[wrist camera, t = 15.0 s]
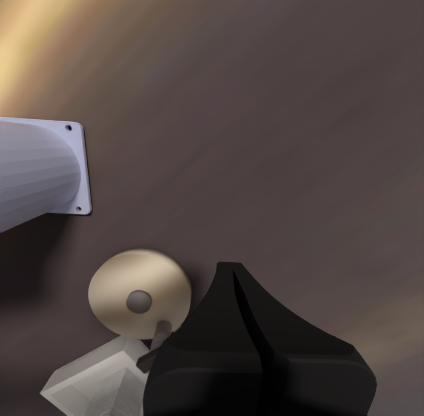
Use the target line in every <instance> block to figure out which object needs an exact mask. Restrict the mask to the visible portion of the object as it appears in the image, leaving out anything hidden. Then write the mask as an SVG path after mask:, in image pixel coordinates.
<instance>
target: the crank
mask: <svg viewBox="0 0 424 416" xmlns="http://www.w3.org/2000/svg"><path fill="white" fill-rule="evenodd" d="M191 293H192V292H191V282H190V279H189V277H188V275H187V273H186V271H185V270H184V268H183V267H182V266H181V265H180V264H179V263H178V262H177V261H176V260H175V259H174V258H172V257H171V256H169V255H167V254H165V253H163V252H160V251H158V250H154V249H149V248H131V249H127V250H123V251H121V252H118V253H116V254H114V255H113V256H111V257H110V258H109V259H108V260H107V261H106V262H105V263H104V264H103V265H102V266H101V267H100V268H99V270H98V271H97V272H96V273H95V275H94V276H93V278H92V280H91V282H90V286H89V292H88V295H89V303H90V306H91V309H92V311H93V312H94V314H95V316H96V317H97V318H98V320H99V321H100V322H101V323H102V324H103V325H105V326H106V327H107V328H108V329H110V330H111V331H113V332H115V333H117V334H119V335H122V336H125V337H128V338H133V339H153V340H152V344H151V348H150V351H149V353H147V354H145V355H143V356H141V357H139V358H138V360H137V363H136V367H137V368H138V369H140V370H141V371H142V372H143V373H144V374H145V373H147V372H149V371H150V369H151V366H152V364H153V361H154V359H155V357H156V355H157V353H158V351H159V349H160V347H161V345H162V343H163V341H164V340H166V339H167V338H168V337H169V336H170V335H171V332H172V331H174V330H175V329H177V328H178V327H179V326H180V325H181V324H182V323H183V321H184V320H185V318H186V317H187V315H188V312H189V309H190V302H191Z"/></svg>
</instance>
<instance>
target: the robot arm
mask: <svg viewBox="0 0 424 416" xmlns="http://www.w3.org/2000/svg"><path fill="white" fill-rule="evenodd" d="M69 125H70V126H71V127H72V130H71V131H70V130H69V129H68V126H69ZM78 206H79V207H81V209H82V210H79V209H78ZM91 211H92V206H91V197H90V187H89V178H88V169H87V159H86V150H85V140H84V131H83V126H82V125H81V124H80V123H77V122H67V121H52V120H38V119H23V118H8V117H0V233H1V232H4V231H6V230H8V229H10V228H13V227H15V226H17V225H20V224H22V223H24V222H26V221H29V220H31V219H33V218H35V217H38V216H40V215H42V214H44V213H65V214H88V213H90V212H91ZM376 387H377V382H376V377H375V375H374V374H373V372H372V371H371V369H370V368H369V366H368V365H367V363H366V362H365V361H364V359H363V358H362V356H361V355H360V354H359V352H358V351H357V350H356V349H355V347H354V346H353V345H351V344H349V343H347V342H345V341H343V340H341V339H339V338H336V337H334V336H332V335H330V334H328V333H326V332H324V331H323V330H321V329H319V328H317V327H315V326H314V325H312V324H310V323H308V322H307V321H305V320H304V319H302V318H301V317H299V316H298V315H296V314H295V313H293V312H292V311H290V310H289V309H287V308H286V307H285V306H283V305H282V304H281V303H280V302H278V301H277V300H276V299H275V298H274V297H272V296H271V295H270V294H269V293H268V292H267V291H266V290H265V289H264V288H263V287H262V286H261V285H260V284H259V283H258V282H257V281H256V280H255V279H254V278H253V276H252V275H251V274H250V273H249V272H248V271H247V269H246V268H245V267H244V266H243V265H242V263H236V262H218V263H217V269H216V274H215V277H214V279H213V282H212V284H211V286H210V288H209V290H208V292H207V294H206V295H205V297H204V299H203V300H202V302H201V303H200V305H199V306H198V307H197V309H196V310H195V311H194V312H193V314H192V315H191V316H190V317H189V318H188V319H187V320H186V321H185V322H184V323H183V324H182V326H181V327H180V328H178V329H177V330H176V331H175V332H174V333H173V334H171V335H170V336H169V337H168V338H167V339H166V340H164V341H163V343H162V345H161V347H160V349H159V351H158V353H157V355H156V357H155V359H154V361H153V364H152V366H151V369H150V372H149V374H148V377H147V381H146V385H145V389H144V394H143V416H367V413H368V411H369V408H370V406H371V403H372V401H373V398H374V396H375V392H376Z"/></svg>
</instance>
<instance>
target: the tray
mask: <svg viewBox="0 0 424 416" xmlns="http://www.w3.org/2000/svg"><path fill="white" fill-rule="evenodd" d="M149 351H150V350H149V349H148V348H147V346H146V345H145V344H144V343H143V342H142V341H141V340H140V339H133V338H128V337H125V336H122V335H121V336H119V337H117V338H115V339H113V340H111V341H110V342H108V343H106V344H104V345H102V346H100V347H98V348H96V349H94V350H93V351H91V352H89V353H87V354H85V355H83V356H81V357H79V358H78V359H76V360H74V361H72V362H70V363H68V364H66V365H64V366H62V367H61V368H59V369H57V370H55V371H54V373H53V374H52V376H51V377H50V379H49V380H48V382H47V383H46V385H45V386H44V388H43V389H42V391H41V392H40V394H41V395H42V396H44V397H45V398H46V399H47V400H49V401H50V402H51V403H52V404H54V405H55V406H56V407H57V408H59V409H60V410H61V411H62V412H64V413H65V414H66V415H67V416H84V415H85V413H86V411H87V409H88V406H89V404H90V402H91V400H92V397H93V395H94V393H95V391H96V389H97V386H98V384H99V382H100V380H101V379H103V378H105V377H108V376H110V375H112V374H114V373H116V372H118V371H120V370H122V369H124V368H126V367H127V368H128V369H129V370H130V371H131V372H132V373H133V374H134V375H135V376H136V377H137V378H138V379H139V380H140V381H141V382H142V383H143V384H144V385H146V381H147V377H148V374H149V372H150V371H149V372H147V373H145V374H144V373H143V372H142V371H141V370H140V369H138V368H137V367H136V363H137V360H138V358H139V357H141V356H143V355H145V354H147V353H149ZM140 416H143V404H142V408H141V412H140Z"/></svg>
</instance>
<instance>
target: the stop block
mask: <svg viewBox="0 0 424 416" xmlns="http://www.w3.org/2000/svg"><path fill="white" fill-rule="evenodd" d="M144 389H145V385H144V384H143V383H142V382H141V381H140V380H139V379H138V378H137V377H136V376H135V375H134V374H133V373H132V372H131V371H130V370H129V369H128V368H127V367H126V368H124V369H122V370H120V371H118V372H116V373H114V374H112V375H110V376H108V377H105V378H103V379H101V380H100V382H99V384H98V386H97V389H96V391H95V393H94V395H93V397H92V400H91V402H90V404H89V406H88V409H87V411H86V413H85V415H84V416H140V412H141V408H142V404H143V394H144Z"/></svg>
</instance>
